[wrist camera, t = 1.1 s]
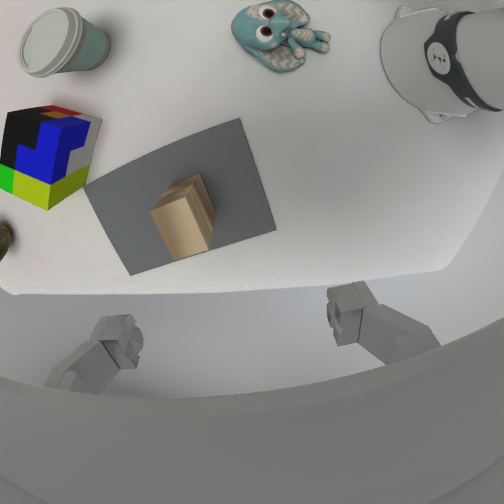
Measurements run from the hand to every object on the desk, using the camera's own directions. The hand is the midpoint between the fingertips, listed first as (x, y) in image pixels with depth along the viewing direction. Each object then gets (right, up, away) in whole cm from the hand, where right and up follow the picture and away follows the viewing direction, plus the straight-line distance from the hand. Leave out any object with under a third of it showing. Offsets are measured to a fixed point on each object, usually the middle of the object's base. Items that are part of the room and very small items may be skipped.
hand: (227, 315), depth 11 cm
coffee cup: (-20, +30, +14) cm, 38 cm away
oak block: (-7, +10, +25) cm, 28 cm away
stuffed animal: (+4, +29, +15) cm, 33 cm away
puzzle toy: (-26, +18, +20) cm, 37 cm away
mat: (-10, +9, +26) cm, 29 cm away
